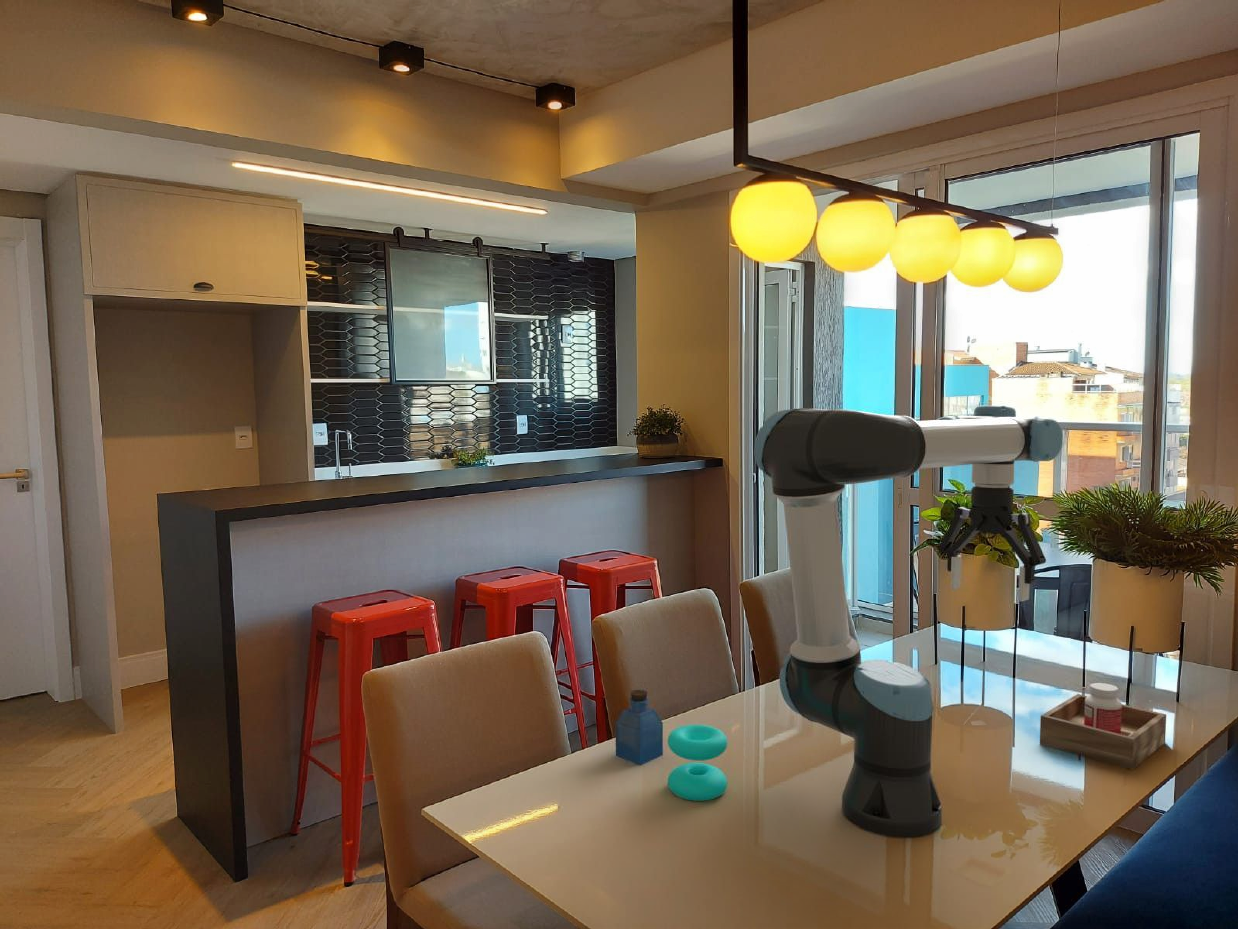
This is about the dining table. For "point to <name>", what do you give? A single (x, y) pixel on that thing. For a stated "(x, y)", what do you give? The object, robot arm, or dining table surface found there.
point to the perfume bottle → (639, 731)
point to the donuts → (697, 777)
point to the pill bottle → (1103, 708)
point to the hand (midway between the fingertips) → (988, 594)
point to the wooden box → (1103, 733)
